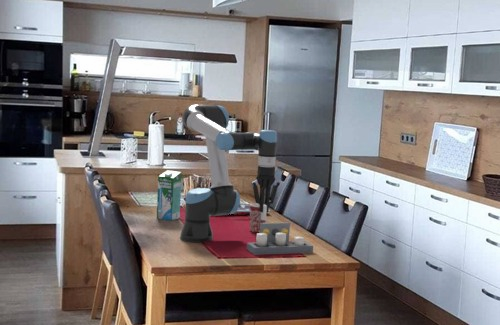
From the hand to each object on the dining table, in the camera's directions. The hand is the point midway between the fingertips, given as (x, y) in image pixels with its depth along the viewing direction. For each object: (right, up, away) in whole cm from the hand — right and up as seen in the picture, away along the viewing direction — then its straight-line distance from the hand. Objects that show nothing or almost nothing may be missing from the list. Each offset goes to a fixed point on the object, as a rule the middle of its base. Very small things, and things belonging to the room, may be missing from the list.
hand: (263, 219), depth 291 cm
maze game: (-14, -4, +91) cm, 92 cm away
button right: (+16, -14, +8) cm, 22 cm away
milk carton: (-49, -5, +63) cm, 80 cm away
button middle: (+8, -12, +5) cm, 15 cm away
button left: (-1, -11, +2) cm, 12 cm away
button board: (+7, -15, +5) cm, 18 cm away
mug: (-3, -10, +46) cm, 48 cm away
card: (+5, -14, +12) cm, 19 cm away
